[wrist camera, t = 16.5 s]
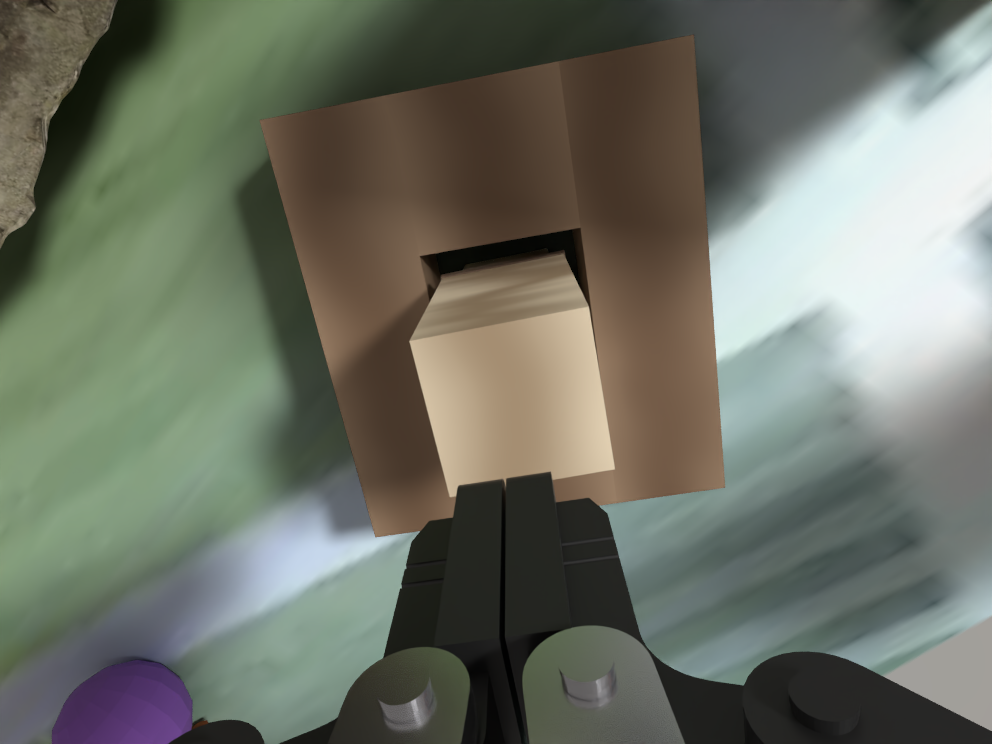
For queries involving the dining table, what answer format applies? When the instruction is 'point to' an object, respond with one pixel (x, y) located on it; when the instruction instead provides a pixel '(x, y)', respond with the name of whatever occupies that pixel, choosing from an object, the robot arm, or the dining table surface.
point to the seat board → (507, 216)
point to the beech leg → (512, 372)
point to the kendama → (126, 707)
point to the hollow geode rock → (38, 87)
